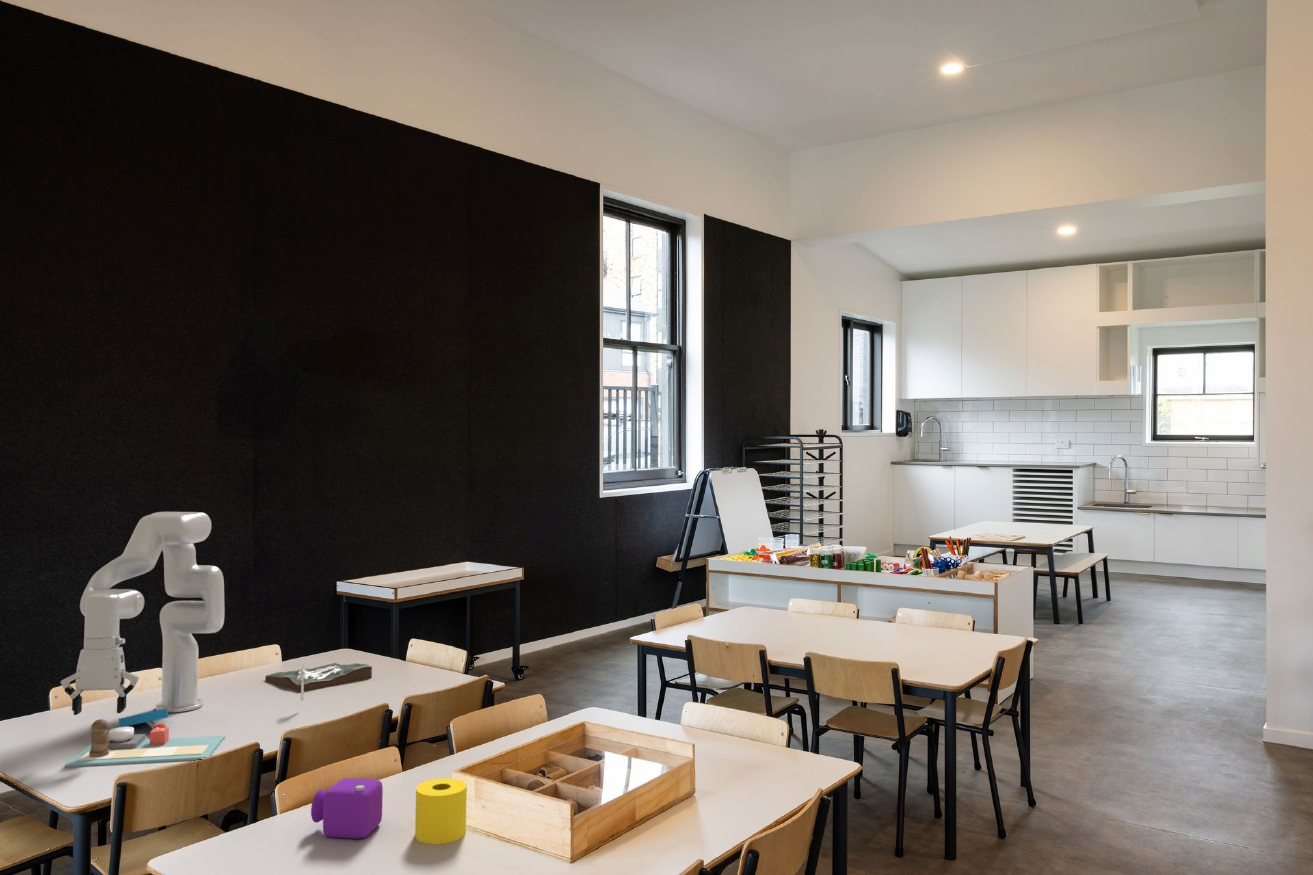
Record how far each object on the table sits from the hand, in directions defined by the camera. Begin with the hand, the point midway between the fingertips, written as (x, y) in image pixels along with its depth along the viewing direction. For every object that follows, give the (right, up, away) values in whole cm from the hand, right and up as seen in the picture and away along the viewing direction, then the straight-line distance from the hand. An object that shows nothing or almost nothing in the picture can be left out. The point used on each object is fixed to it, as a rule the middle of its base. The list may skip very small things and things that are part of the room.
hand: (99, 712), depth 232 cm
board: (+9, -12, +6) cm, 16 cm away
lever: (-1, -12, +24) cm, 27 cm away
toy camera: (+75, -12, -42) cm, 87 cm away
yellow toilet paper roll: (+95, -12, -43) cm, 105 cm away
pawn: (0, -11, 0) cm, 11 cm away
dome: (+1, -11, +9) cm, 14 cm away
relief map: (+29, -14, +71) cm, 78 cm away
